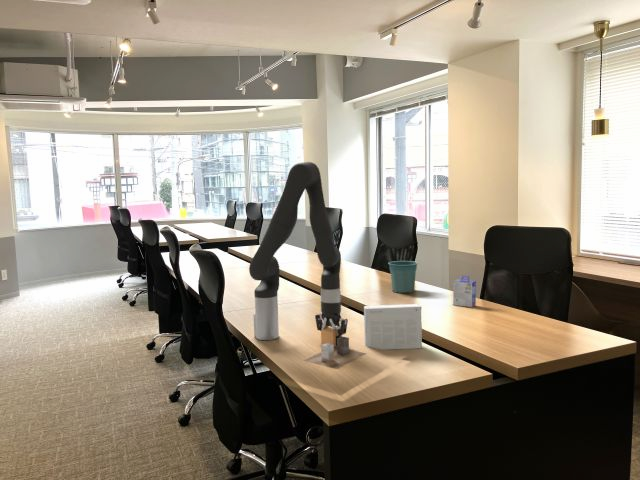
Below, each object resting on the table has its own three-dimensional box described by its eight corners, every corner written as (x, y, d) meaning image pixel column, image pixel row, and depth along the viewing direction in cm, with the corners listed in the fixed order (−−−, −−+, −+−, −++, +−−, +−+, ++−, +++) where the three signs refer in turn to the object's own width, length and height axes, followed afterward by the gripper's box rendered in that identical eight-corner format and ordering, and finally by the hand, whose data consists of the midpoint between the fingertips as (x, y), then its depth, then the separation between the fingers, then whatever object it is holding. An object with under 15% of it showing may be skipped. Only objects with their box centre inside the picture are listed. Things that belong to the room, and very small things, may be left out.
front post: (321, 360, 174) (321, 345, 173) (327, 358, 176) (326, 343, 175) (328, 362, 172) (328, 346, 171) (333, 360, 174) (333, 344, 173)
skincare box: (419, 344, 194) (419, 303, 192) (422, 348, 188) (422, 307, 186) (364, 346, 193) (363, 305, 191) (365, 350, 188) (365, 308, 186)
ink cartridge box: (476, 305, 250) (476, 276, 248) (472, 307, 246) (472, 278, 244) (457, 302, 256) (457, 274, 254) (452, 305, 252) (453, 276, 250)
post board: (303, 364, 175) (303, 344, 174) (335, 350, 189) (334, 331, 188) (336, 373, 166) (336, 352, 165) (366, 357, 180) (366, 338, 179)
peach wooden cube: (321, 347, 192) (320, 329, 191) (330, 343, 196) (329, 326, 195) (333, 350, 188) (332, 332, 187) (342, 346, 193) (341, 328, 192)
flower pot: (382, 289, 289) (382, 262, 288) (406, 286, 296) (406, 259, 294) (399, 295, 275) (398, 266, 273) (423, 292, 281) (423, 263, 280)
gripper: (309, 299, 192) (310, 342, 194) (340, 304, 183) (341, 349, 185) (321, 295, 197) (322, 337, 199) (352, 300, 189) (352, 344, 190)
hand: (331, 343), depth 192 cm, fingers closed on peach wooden cube, 5 cm apart
